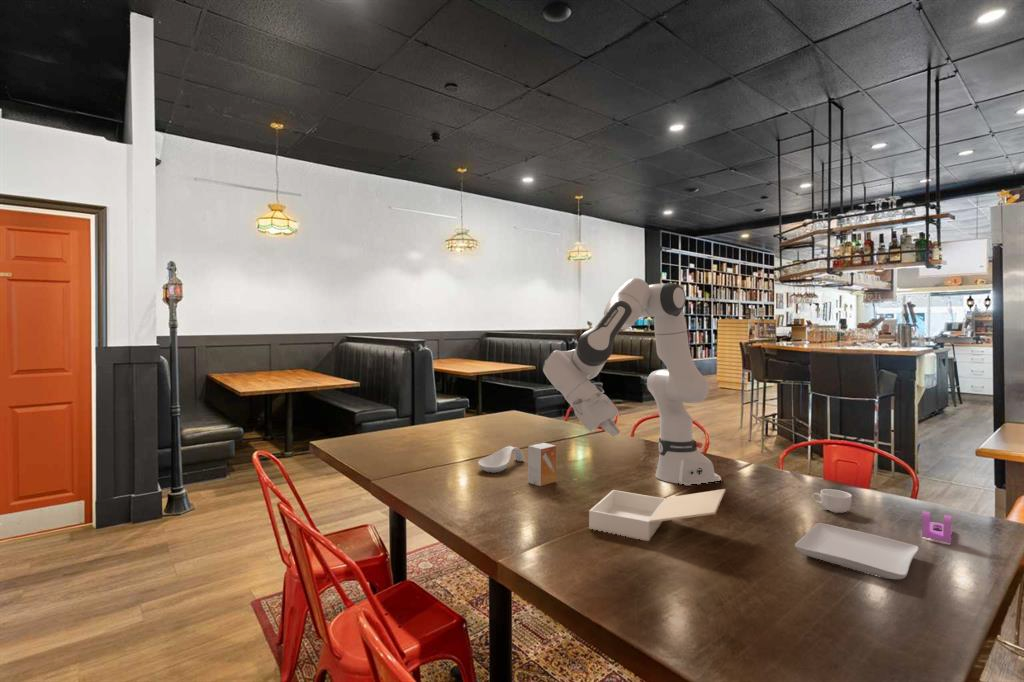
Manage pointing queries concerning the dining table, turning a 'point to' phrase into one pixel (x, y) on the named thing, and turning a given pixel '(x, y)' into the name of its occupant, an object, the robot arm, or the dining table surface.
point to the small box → (541, 464)
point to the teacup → (834, 500)
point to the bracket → (928, 526)
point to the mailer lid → (689, 506)
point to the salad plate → (858, 550)
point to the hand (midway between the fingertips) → (617, 434)
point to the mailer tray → (626, 515)
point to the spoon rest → (500, 459)
